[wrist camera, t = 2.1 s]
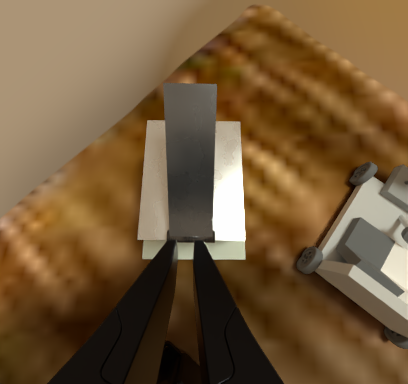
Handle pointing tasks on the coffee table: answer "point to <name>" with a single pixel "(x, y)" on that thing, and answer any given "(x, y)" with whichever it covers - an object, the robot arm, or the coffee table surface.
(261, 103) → the coffee table surface
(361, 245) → the toy car
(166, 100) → the strap
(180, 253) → the board
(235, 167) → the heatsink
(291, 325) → the coffee table surface
